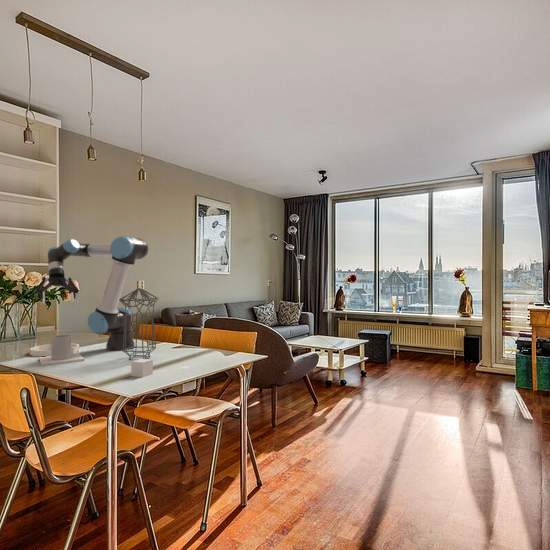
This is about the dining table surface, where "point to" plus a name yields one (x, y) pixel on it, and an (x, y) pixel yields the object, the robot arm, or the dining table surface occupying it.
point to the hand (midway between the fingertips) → (58, 303)
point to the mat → (48, 360)
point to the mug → (61, 347)
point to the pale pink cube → (141, 367)
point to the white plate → (49, 350)
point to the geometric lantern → (136, 321)
